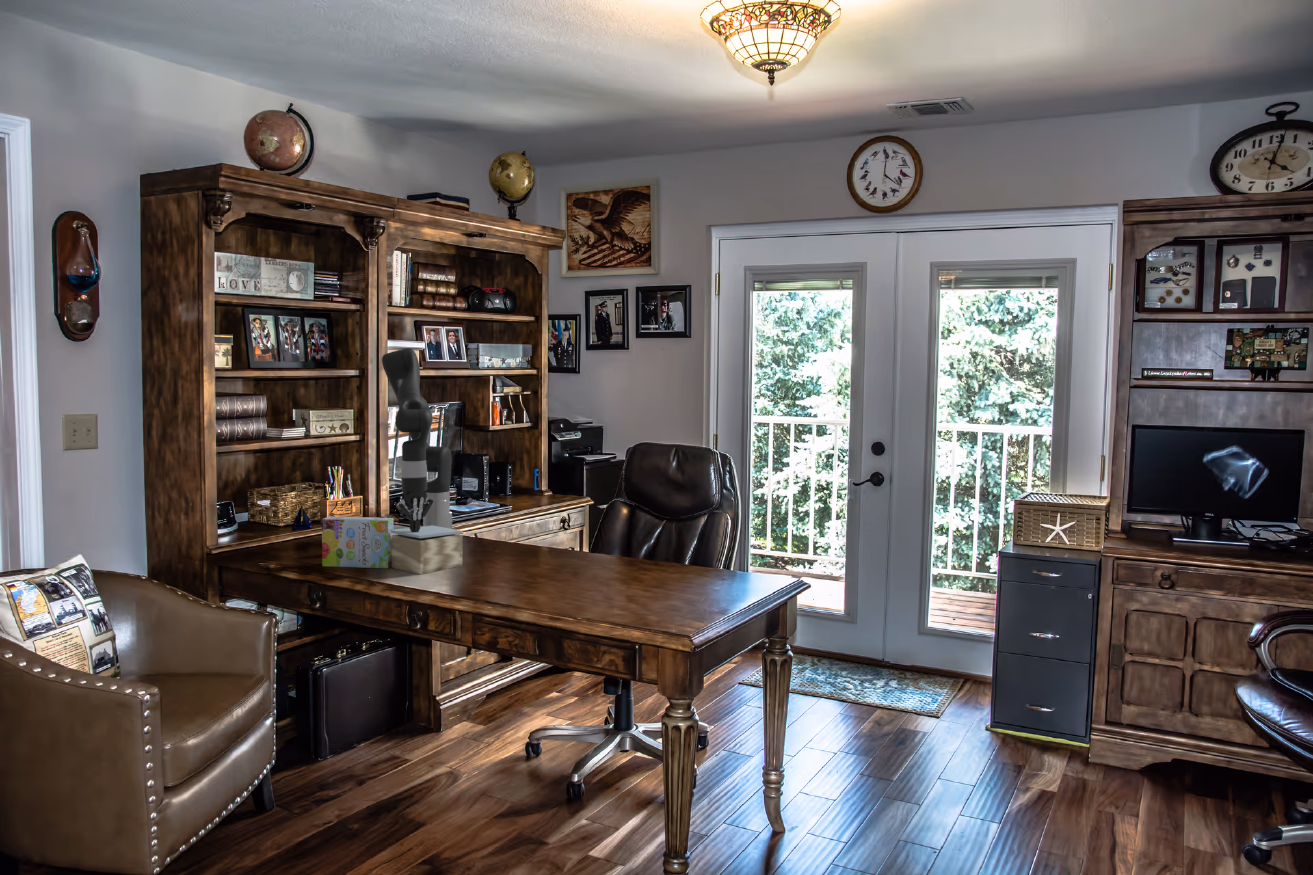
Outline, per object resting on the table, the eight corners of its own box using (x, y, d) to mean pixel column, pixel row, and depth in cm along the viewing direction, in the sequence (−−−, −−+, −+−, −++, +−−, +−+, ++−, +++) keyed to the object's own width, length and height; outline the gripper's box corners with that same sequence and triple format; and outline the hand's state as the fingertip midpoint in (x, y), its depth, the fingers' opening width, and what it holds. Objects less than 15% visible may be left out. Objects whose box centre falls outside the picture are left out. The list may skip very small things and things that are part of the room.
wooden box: (433, 559, 300) (433, 528, 299) (462, 565, 291) (462, 534, 290) (391, 567, 287) (391, 535, 286) (420, 574, 279) (420, 541, 278)
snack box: (394, 565, 291) (394, 517, 290) (387, 569, 286) (387, 520, 284) (329, 563, 293) (328, 515, 292) (321, 566, 288) (320, 518, 286)
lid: (434, 529, 299) (434, 525, 299) (463, 534, 291) (463, 530, 291) (390, 534, 286) (390, 530, 286) (419, 539, 278) (419, 535, 277)
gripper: (424, 472, 291) (424, 527, 292) (388, 476, 280) (389, 533, 282) (439, 474, 286) (440, 530, 287) (403, 478, 276) (404, 536, 277)
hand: (414, 531), depth 284 cm, fingers closed
